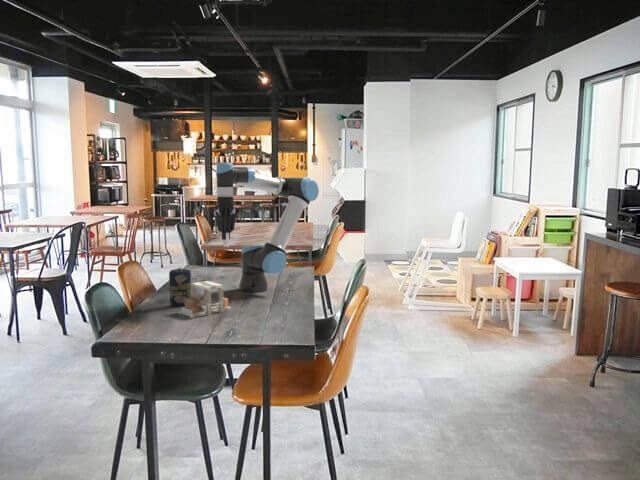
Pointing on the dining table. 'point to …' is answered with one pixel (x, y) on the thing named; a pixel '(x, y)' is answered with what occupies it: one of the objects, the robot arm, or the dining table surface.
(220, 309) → the cream wooden rail frame
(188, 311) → the orange and grey bar
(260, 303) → the dining table surface
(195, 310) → the block
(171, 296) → the canister
